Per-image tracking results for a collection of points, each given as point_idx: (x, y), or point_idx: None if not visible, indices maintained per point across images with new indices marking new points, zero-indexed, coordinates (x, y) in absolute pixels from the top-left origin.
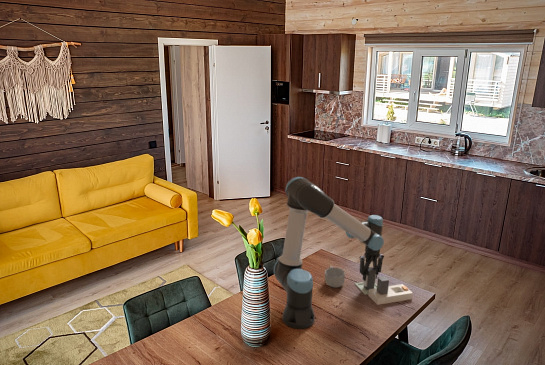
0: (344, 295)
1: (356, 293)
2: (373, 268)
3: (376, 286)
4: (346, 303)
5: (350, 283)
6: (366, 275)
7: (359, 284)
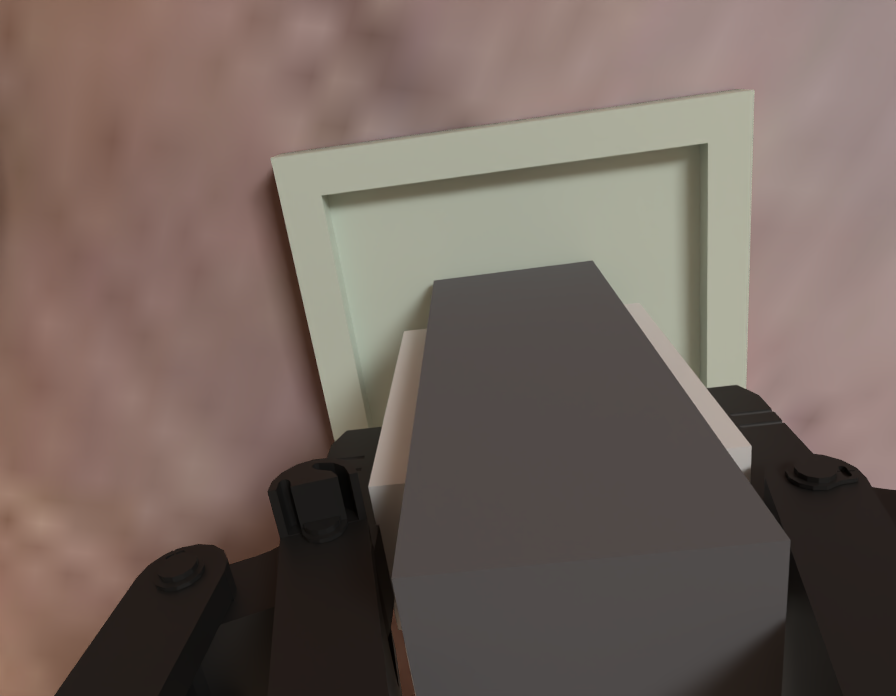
0: (14, 477)
1: (236, 449)
2: (769, 670)
3: (701, 320)
4: (25, 659)
5: (196, 73)
6: (395, 613)
7: (373, 186)
